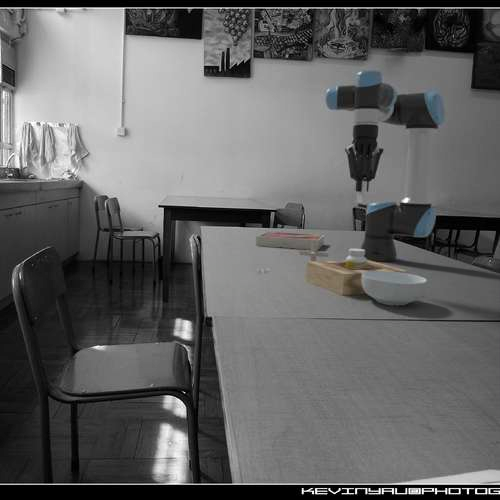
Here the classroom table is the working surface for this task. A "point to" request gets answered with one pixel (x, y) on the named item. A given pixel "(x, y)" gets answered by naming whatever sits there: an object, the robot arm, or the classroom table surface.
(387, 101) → the robot arm
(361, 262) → the pill bottle
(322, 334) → the classroom table surface
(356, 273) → the seat board
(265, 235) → the product packaging
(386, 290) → the cereal bowl
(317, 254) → the pipe connector
